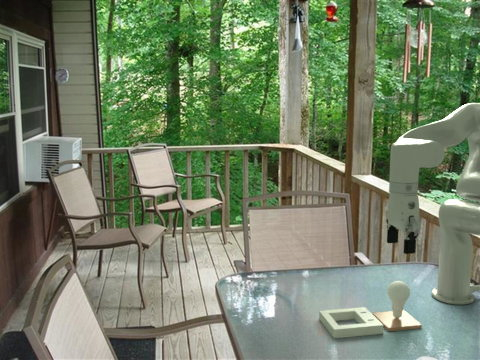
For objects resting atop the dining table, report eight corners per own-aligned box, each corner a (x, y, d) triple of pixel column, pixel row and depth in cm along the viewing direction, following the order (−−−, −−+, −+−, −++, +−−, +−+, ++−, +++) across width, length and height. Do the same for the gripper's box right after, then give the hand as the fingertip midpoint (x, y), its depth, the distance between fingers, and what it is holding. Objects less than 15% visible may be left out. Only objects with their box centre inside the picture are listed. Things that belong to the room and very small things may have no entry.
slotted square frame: (364, 315, 153) (364, 306, 153) (382, 333, 141) (383, 324, 141) (319, 319, 150) (319, 310, 150) (334, 338, 139) (334, 329, 138)
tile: (403, 313, 154) (404, 309, 154) (421, 328, 145) (421, 324, 144) (372, 315, 152) (372, 312, 152) (388, 331, 143) (388, 327, 143)
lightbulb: (411, 318, 149) (414, 281, 147) (401, 324, 144) (404, 287, 142) (392, 311, 153) (394, 276, 151) (381, 318, 148) (384, 281, 147)
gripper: (433, 193, 134) (429, 256, 137) (400, 181, 151) (398, 238, 154) (406, 194, 133) (403, 258, 136) (376, 182, 149) (374, 239, 152)
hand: (400, 247), depth 145 cm, fingers open, 9 cm apart
